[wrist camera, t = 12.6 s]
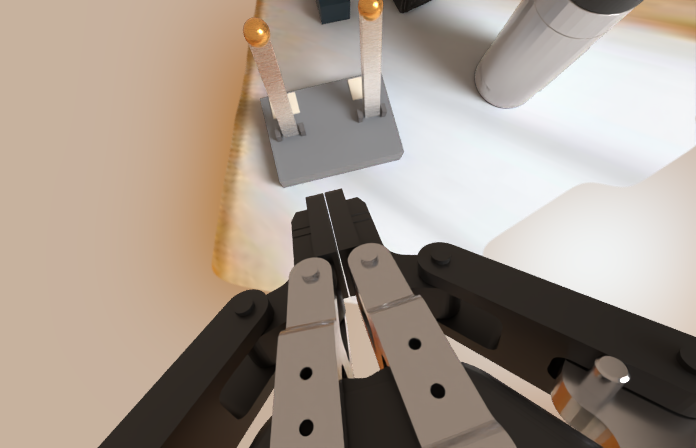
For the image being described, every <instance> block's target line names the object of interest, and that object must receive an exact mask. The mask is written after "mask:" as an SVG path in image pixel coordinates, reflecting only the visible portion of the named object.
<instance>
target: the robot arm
mask: <svg viewBox="0 0 696 448" xmlns="http://www.w3.org/2000/svg"><path fill="white" fill-rule="evenodd" d="M642 1H643V0H522V1H521V2H520V4H519V5H518V7H517V8H516V10H515V11H514V13H513V14H512V16H511V17H510V18H509V20H508V21H507V23H506V24H505V26H504V27H503V29H502V30H501V32H500V33H499V34H498V36H497V37H496V39H495V40H494V42H493V43H492V45H491V46H490V47H489V49H488V50H487V52H486V53H485V55H484V56H483V58H482V59H481V61H480V62H479V64H478V66H477V68H476V72H475V83H476V87H477V89H478V91H479V93H480V94H481V95H482V97H483V98H484V99H485V100H486V101H488V102H489V103H491V104H492V105H495V106H497V107H501V108H514V107H518V106H520V105H522V104H524V103H526V102H527V101H528V100H529V99H530V98H532V97H533V96H534V95H535V94H536V93H537V92H539V91H541V90H542V89H543V88H544V87H546V86H547V85H548V84H549V83H550V82H551V81H553V80H554V79H555V78H556V77H557V76H558V75H560V74H561V73H562V72H563V71H564V70H565V69H566V68H568V67H569V66H570V65H571V64H572V63H573V62H575V61H576V60H577V59H578V58H579V57H580V56H582V55H583V54H584V53H585V52H586V51H587V50H588V49H589V48H590V46H592V45H593V44H594V43H595V42H596V41H597V40H598V39H600V38H601V37H602V36H603V35H604V34H605V33H607V32H608V31H609V30H610V29H611V28H612V27H613V26H614V25H616V24H617V23H618V22H619V21H620V20H621V19H622V18H624V17H625V16H626V15H627V14H628V13H629V12H630V11H632V10H633V9H634V8H635V7H636V6H637V5H639V4H640V3H641V2H642ZM325 197H326V201H327V205H328V209H329V213H330V217H331V222H332V225H331V222H330V218H329V214H328V210H327V206H326V203H325V199H324V195H323V193H322V194H317V195H313V196H309V197H306V204H307V210H304V211H300V212H296V213H295V215H294V217H293V219H292V221H291V224H292V238H293V254H294V267H293V269H292V270H291V272H290V274H289V280H288V281H287V282H286V283H285V284H284V285H282V286H281V287H279V288H278V289H276V290H274V291H272V292H270V293H269V294H267V295H265V293H264V292H262V291H260V290H254V289H253V290H246V291H244V292H241V293H239V294H237V295H236V296H234V297H233V298H232V299H231V300H230V301H229V302H228V303H227V304H226V305H225V306H224V307H223V309H222V310H221V311H220V312H219V313H218V314H217V315H216V316H215V318H214V319H213V320H212V321H211V322H210V323H209V324H208V325H207V326H206V327H205V329H204V330H203V331H202V332H201V333H200V334H199V335H198V336H197V338H196V339H195V340H194V341H193V342H192V343H191V344H190V345H189V347H188V348H187V349H186V350H185V351H184V352H183V353H182V354H181V355H180V357H179V358H178V359H177V360H176V361H175V362H174V363H173V364H172V365H171V367H170V368H169V369H168V370H167V371H166V372H165V373H164V374H163V375H162V377H161V378H160V379H159V380H158V381H157V382H156V383H155V384H154V385H153V387H152V388H151V389H150V390H149V391H148V392H147V393H146V394H145V396H144V397H143V398H142V399H141V400H140V401H139V402H138V404H136V406H135V407H134V408H133V409H132V410H131V411H130V412H129V413H128V415H127V416H126V417H125V418H124V419H123V420H122V421H121V422H120V423H119V425H118V426H117V427H116V428H115V429H114V430H113V431H112V432H111V434H110V435H109V436H108V437H107V438H106V439H105V440H104V441H103V442H102V444H101V445H100V446H99V447H98V448H237V446H238V444H239V443H240V441H241V439H242V438H243V436H244V435H245V433H246V432H247V430H248V428H249V427H250V425H251V424H252V422H253V421H254V419H255V417H256V416H257V414H258V413H259V411H260V410H261V408H262V406H263V405H264V403H265V402H266V400H267V398H268V397H269V395H270V394H271V392H272V390H273V389H274V400H273V415H272V416H271V417H270V418H269V420H268V421H267V422H266V423H265V424H264V426H263V427H262V428H261V429H260V431H259V432H258V434H257V435H256V437H255V439H254V440H253V442H252V444H251V445H250V447H249V448H696V337H694V336H692V335H689V334H686V333H683V332H681V331H678V330H676V329H673V328H671V327H668V326H665V325H663V324H660V323H657V322H655V321H652V320H649V319H647V318H644V317H641V316H639V315H636V314H634V313H631V312H628V311H626V310H623V309H620V308H618V307H615V306H613V305H610V304H607V303H604V302H602V301H599V300H597V299H594V298H591V297H589V296H586V295H583V294H581V293H578V292H575V291H573V290H570V289H568V288H565V287H562V286H560V285H557V284H555V283H552V282H549V281H547V280H544V279H541V278H539V277H536V276H533V275H531V274H528V273H526V272H523V271H520V270H517V269H515V268H512V267H510V266H507V265H505V264H502V263H499V262H497V261H494V260H491V259H488V258H486V257H483V256H481V255H478V254H476V253H473V252H470V251H468V250H465V249H462V248H460V247H457V246H454V245H452V244H449V243H443V242H436V243H431V244H428V245H426V246H424V247H423V248H422V249H421V250H420V251H419V253H418V255H400V254H396V253H393V252H391V251H389V250H388V249H387V248H386V247H384V245H383V244H382V241H381V239H380V237H379V234H378V232H377V230H376V227H375V225H374V222H373V220H372V218H371V215H370V213H369V211H368V208H367V206H366V204H365V202H363V201H362V200H361V199H359V198H358V197H356V198H352V199H348V200H345V197H344V194H343V191H342V188H341V189H337V190H333V191H329V192H325ZM332 226H333V229H332ZM333 230H334V233H333ZM334 234H335V237H334ZM335 238H336V242H337V246H338V250H339V254H340V258H341V262H342V266H343V270H344V273H345V277H346V281H347V285H348V289H349V293H350V297H351V296H355V295H356V298H357V302H358V305H359V309H360V313H361V316H362V319H363V322H364V325H365V328H366V331H367V333H368V336H369V339H370V342H371V345H372V347H373V350H374V353H375V356H376V359H377V362H378V365H379V368H380V371H379V372H376V373H375V374H373V375H372V376H369V377H367V378H354V374H353V368H352V361H351V352H350V344H349V336H348V329H347V321H346V316H345V311H346V310H345V305H344V300H343V299H344V298H348V297H349V296H348V292H347V288H346V284H345V279H344V275H343V271H342V267H341V263H340V258H339V254H338V250H337V246H336V242H335ZM444 334H445V335H447V336H448V337H450V338H452V339H454V340H455V341H457V342H459V343H461V344H463V345H464V346H466V347H468V348H469V349H471V350H473V351H475V352H476V353H478V354H480V355H482V356H484V357H485V358H487V359H489V360H490V361H492V362H494V363H496V364H497V365H499V366H501V367H503V368H504V369H506V370H508V371H510V372H511V373H513V374H515V375H517V376H519V377H520V378H522V379H524V380H525V381H527V382H529V383H531V384H533V385H534V386H536V387H538V388H539V389H541V390H543V391H545V392H546V393H548V394H550V395H551V398H552V402H553V404H554V406H555V408H556V410H557V411H558V413H559V414H560V416H561V417H562V418H563V419H564V420H565V421H566V422H567V423H568V424H569V425H568V424H566V423H565V422H563V421H562V420H560V419H558V418H557V417H555V416H554V415H552V414H551V413H549V412H547V411H546V410H544V409H543V408H541V407H540V406H538V405H537V404H535V403H534V402H532V401H530V400H529V399H527V398H526V397H524V396H522V395H521V394H519V393H518V392H516V391H515V390H513V389H512V388H510V387H508V386H507V385H505V384H504V383H502V382H501V381H499V380H498V379H496V378H494V377H493V376H491V375H490V374H488V373H486V372H485V371H483V370H481V369H479V368H477V367H475V366H472V365H469V364H467V363H464V362H460V360H459V359H458V357H457V355H456V354H455V352H454V350H453V349H452V347H451V345H450V343H449V342H448V340H447V338H446V337H445V335H444ZM571 426H572V427H571ZM574 428H575V429H574Z"/></svg>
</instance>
